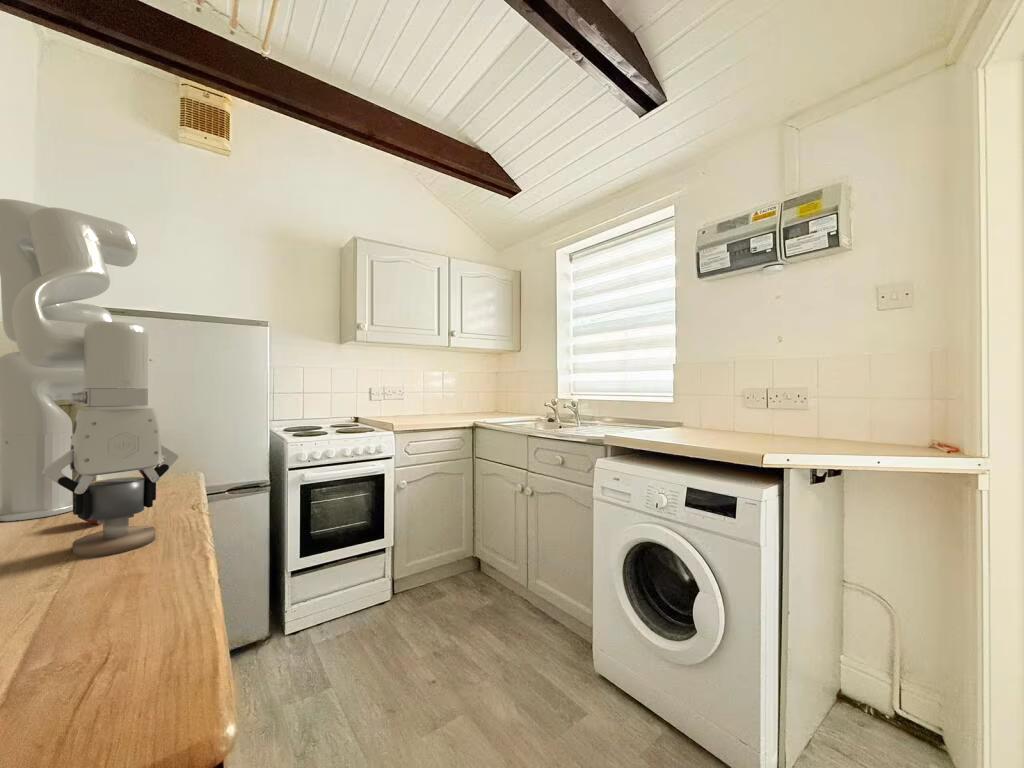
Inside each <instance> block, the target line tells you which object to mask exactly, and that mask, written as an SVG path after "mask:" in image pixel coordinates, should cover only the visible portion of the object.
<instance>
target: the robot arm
mask: <svg viewBox="0 0 1024 768" xmlns="http://www.w3.org/2000/svg"><path fill="white" fill-rule="evenodd" d="M137 242H138V241H137V238H136V236H135V235H134V233H133V232H132V231H131V229H129V227H127V226H125V225H124V224H122V223H119V222H116V221H113V220H110V219H105V218H101V217H98V216H94V215H91V214H90V215H89V214H87V213H83V212H79V211H75V210H71V209H68V208H67V209H66V208H61V207H51V206H50V207H49V206H46V205H45V206H44V205H41V204H36V203H32V202H27V201H23V200H17V199H11V198H10V199H9V198H0V297H1V313H2V314H1V315H2V316H1V317H2V326H3V330H4V333H5V335H6V337H7V338H8V339H9V340H11V341H12V342H14V343H16V345H17V348H18V351H13V352H9V353H6V354H3V355H1V356H0V521H5V522H17V520H18V521H25V520H26V521H27V520H33V519H41V518H46V517H50V516H51V517H53V516H56V515H60V514H65V513H68V512H72V514H73V515H75V516H77V517H78V518H79V519H80V520H83V521H84V520H87V519H89V518H90V517H91V494H90V493H88V492H87V487H88V486H89V484H90V483H92V482H93V479H94V478H95V477H96V476H101V475H103V476H104V475H110V474H116V473H117V474H118V473H124V472H133V471H139V473H140V475H141V476H142V478H144V508H152V507H154V504H153V503H154V501H156V499H157V482H159V481H160V479H161V477H162V476H164V474H166V473H167V472H168V470H170V469H169V468H171V466H173V464H174V463H175V462H176V461H177V460H178V459H179V455H178V454H177V453H175V452H173V451H172V450H170V449H169V448H167V447H166V446H164V445H162V444H161V436H160V435H161V433H160V427H159V426H160V425H159V420H158V415H157V412H156V408H155V407H149V333H148V331H147V329H146V328H145V327H144V326H143V325H140V324H137V323H131V322H125V321H124V322H123V321H115V319H114V317H113V315H112V314H111V313H110V311H108V310H107V309H106V308H104V307H101V306H98V305H95V304H89V303H82V302H81V303H79V302H76V301H83V300H88V299H92V298H95V297H98V296H100V295H102V294H103V293H105V292H106V291H107V290H108V289H109V288H110V285H111V279H110V278H111V277H110V275H109V274H110V273H109V272H108V269H107V266H106V265H111V266H116V267H120V268H123V267H124V268H125V267H129V266H131V265H132V264H134V262H135V261H136V259H137V256H138V253H139V252H138V249H139V248H138V243H137ZM62 400H70V403H78V404H79V403H80V404H81V405H82V407H83V409H78V410H77V413H76V415H75V418H74V423H73V421H72V419H71V417H70V415H68V413H66V412H65V411H64V410H63V409H62V408H61V407H60V406H59V405H57V404H56V402H55V401H62ZM162 457H163V459H162ZM73 472H74V473H77V475H76V476H75V478H74V479H73ZM77 514H78V515H77Z"/></svg>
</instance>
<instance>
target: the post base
mask: <svg viewBox="0 0 1024 768" xmlns="http://www.w3.org/2000/svg"><path fill="white" fill-rule="evenodd" d="M134 517H135V514H133V515H129V516H124V517H119V518H112V519H103V520H97V523H98V524H97V525H102V530H100V531H98V532H92V533H89V534H86V535H83V536H82V537H81V536H80V537H78V538H77V539H76V540H74V541H72V555H74V556H76V557H80V558H96V557H97V558H98V557H104V556H112V555H117V554H123V553H126V552H130V551H133V550H136V549H139V548H142V547H145V546H147V545H150V544H151V543H153V542H154V541H155V540H156V528H155V527H154V526H151V525H150V526H149V525H133V526H132V525H130V524H129V520H130V518H134Z"/></svg>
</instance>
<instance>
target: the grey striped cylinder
mask: <svg viewBox="0 0 1024 768" xmlns="http://www.w3.org/2000/svg"><path fill="white" fill-rule="evenodd" d="M87 492H88V493H90V494H91V517H90V518H89V519H90V520H103V519H112V518H119V517H124V516H129V515H133V514H134V515H136V514H139V513H141V512H143V511H145V506H144V477H143V476H142V477H141V476H140V477H139V476H138V477H137V476H132V477H131V476H129V477H126V476H125V477H117V478H108V479H102V480H101V481H100V480H96V481H91V483H90V484H89V486H88V487H87Z"/></svg>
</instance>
